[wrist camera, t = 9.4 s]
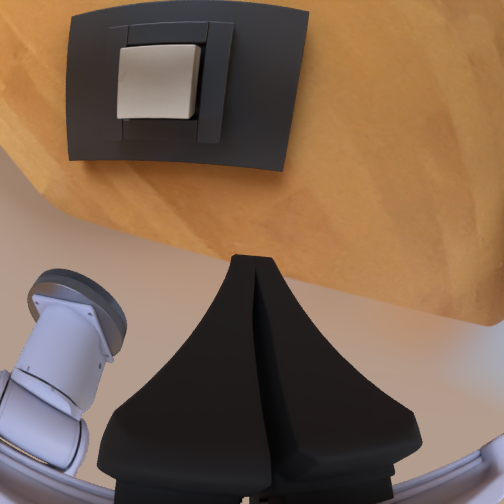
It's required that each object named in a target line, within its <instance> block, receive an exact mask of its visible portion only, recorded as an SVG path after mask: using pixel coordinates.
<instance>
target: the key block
mask: <svg viewBox="0 0 504 504" xmlns="http://www.w3.org/2000/svg"><path fill="white" fill-rule="evenodd" d="M308 18H309V12H308V11H303V10H298V9H293V8H288V7H282V6H275V5H268V4H261V3H252V2H241V1H227V0H171V1H157V2H146V3H137V4H130V5H123V6H117V7H111V8H106V9H101V10H96V11H92V12H87V13H83V14H79V15H75V16H72V18H71V25H70V33H69V43H68V54H67V70H66V125H67V142H68V154H69V161H80V160H141V161H168V162H186V163H201V164H214V165H226V166H236V167H246V168H255V169H264V170H272V171H280V172H283V168H284V162H285V156H286V151H287V145H288V139H289V134H290V128H291V122H292V116H293V111H294V105H295V99H296V93H297V87H298V81H299V75H300V69H301V62H302V56H303V50H304V44H305V37H306V31H307V25H308ZM152 45H196V46H198V47H200V48H201V56H200V64H199V73H198V83H197V93H196V104H195V113H194V114H193V115H192V116H191V117H190V118H189V119H174V118H127V119H118V118H117V96H118V74H119V60H120V49H121V48H127V47H138V46H152Z"/></svg>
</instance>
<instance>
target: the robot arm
mask: <svg viewBox="0 0 504 504" xmlns="http://www.w3.org/2000/svg"><path fill="white" fill-rule="evenodd" d="M32 300H33V302H34V304H35V306H36V308H37V310H38V312H39V314H40V318H39V319H38V321H37V323H36V325H35V327H34V329H33V331H32V333H31V334H30V336H29V338H28V340H27V342H26V344H25V346H24V348H23V350H22V353H21V354H20V357H19V359H18V361H17V363H16V365H15V367H14V369H13V371H12V372H11V373H9V372H8V371H7V370H4V371H0V437H2V438H3V439H5V440H6V441H8V442H10V443H12V444H13V445H15V446H16V447H18V448H20V449H22V450H23V451H25V452H27V453H29V454H31V455H32V456H34V457H36V458H38V459H40V460H42V461H44V462H46V463H48V464H45V463H42V462H39V461H37V460H35V459H33V458H32V457H30V456H28V455H26V454H24V453H22V452H21V451H19V450H17V449H15V448H14V447H12V446H10V445H8V444H7V443H5V442H4V441H2V440H1V439H0V504H240V503H241V502H242V498H244V497H249V502H250V503H249V504H498V503H499V501H501V500H502V499H503V498H504V433H503V434H501V435H500V436H498V437H497V438H495V439H493V440H492V441H490V442H488V443H487V444H486V445H484V446H482V447H481V448H480V449H478V450H476V451H475V452H473V453H471V454H469V455H467V456H465V457H463V458H461V459H459V460H457V461H455V462H452V463H450V464H448V465H446V466H443V467H441V468H439V469H436V470H434V471H432V472H429V473H427V474H424V475H421V476H419V477H416V478H413V479H410V480H408V481H405V482H402V483H399V484H395V485H393V486H392V483H391V478H390V477H391V476H393V475H394V474H395V469H394V465H393V464H394V463H396V462H398V461H400V460H402V459H403V458H405V457H407V456H409V455H411V454H412V453H414V452H416V451H417V450H418V449H419V448H420V447H421V446H422V438H421V435H420V431H419V427H418V424H417V421H416V418H415V416H414V413H413V412H412V411H410V410H409V409H408V408H406V407H405V406H403V405H402V404H400V403H398V402H397V401H395V400H394V399H393V398H391V397H390V396H388V395H387V394H385V393H384V392H383V391H381V390H380V389H379V388H377V387H376V386H375V385H374V384H373V383H371V382H370V381H369V380H367V379H366V378H365V377H364V376H363V375H362V374H360V373H359V372H358V371H357V370H356V369H355V368H354V367H353V366H352V365H351V364H350V363H349V362H348V361H347V360H346V359H345V358H343V357H342V356H341V355H340V354H339V353H338V352H337V350H336V349H335V348H334V347H333V346H332V345H331V344H330V343H329V342H328V340H327V339H326V338H325V337H324V336H323V335H322V334H321V332H320V331H319V330H318V329H317V327H316V326H315V325H314V323H313V322H312V321H311V319H310V318H309V317H308V315H307V314H306V313H305V311H304V310H303V308H302V307H301V305H300V304H299V303H298V301H297V299H296V298H295V296H294V295H293V293H292V292H291V290H290V289H289V287H288V285H287V283H286V282H285V280H284V278H283V277H282V275H281V273H280V271H279V269H278V267H277V265H276V263H275V262H274V260H273V259H272V257H261V256H249V255H238V254H235V255H233V256H232V257H231V263H230V266H229V270H228V272H227V274H226V277H225V279H224V281H223V283H222V285H221V287H220V289H219V291H218V293H217V295H216V297H215V299H214V301H213V302H212V304H211V305H210V307H209V309H208V310H207V312H206V314H205V315H204V317H203V318H202V320H201V321H200V323H199V324H198V326H197V327H196V328H195V330H194V331H193V332H192V334H191V335H190V336H189V338H188V339H187V340H186V341H185V343H184V344H183V345H182V346H181V348H180V349H179V350H178V351H177V352H176V353H175V355H174V356H173V357H172V358H171V359H170V360H169V361H168V362H167V364H166V365H164V367H163V368H162V369H161V370H160V371H159V372H158V373H157V374H156V375H155V376H154V377H153V378H152V379H151V380H150V381H149V382H148V383H147V384H145V386H143V387H142V388H141V389H140V390H139V391H138V392H137V393H135V394H134V395H133V396H132V397H131V398H129V399H128V400H127V401H126V402H125V403H124V404H122V405H121V406H120V407H119V408H117V409H116V410H115V411H114V413H113V415H112V416H111V418H110V420H109V422H108V424H107V427H106V429H105V432H104V434H103V437H102V440H101V444H100V449H99V455H98V461H97V467H98V468H99V470H101V471H102V472H104V473H105V474H107V475H109V476H111V477H113V478H114V479H116V487H115V490H112V489H108V488H105V487H102V486H98V485H95V484H92V483H89V482H86V481H83V480H80V479H77V478H75V476H76V474H77V471H78V469H79V467H80V466H81V465H82V463H83V461H84V459H85V457H86V454H87V450H88V445H89V431H88V428H87V425H86V422H85V421H84V419H82V418H81V416H82V413H84V412H85V411H87V410H88V409H89V408H90V407H91V405H92V403H93V401H94V398H95V395H96V391H97V388H98V384H99V381H100V378H101V375H102V371H103V368H104V365H105V362H110V363H112V362H113V361H114V359H113V356H112V354H111V352H110V349H109V347H108V344H107V342H106V339H105V337H104V334H103V331H102V329H101V326H100V323H99V321H98V318H97V315H96V312H95V309H94V308H93V307H92V306H91V305H86V304H81V303H75V302H70V301H65V300H60V299H55V298H50V297H45V296H41V295H36V294H34V295H33V296H32ZM9 374H10V375H9Z"/></svg>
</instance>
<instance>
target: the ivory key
mask: <svg viewBox="0 0 504 504" xmlns="http://www.w3.org/2000/svg"><path fill="white" fill-rule="evenodd" d="M200 56H201V48H200V47H198V46H196V45H152V46H138V47H127V48H121V49H120V60H119V74H118V96H117V118H118V119H127V118H174V119H189V118H190V117H191V116H192V115H193V114H194V113H195V104H196V93H197V83H198V73H199V64H200Z"/></svg>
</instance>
